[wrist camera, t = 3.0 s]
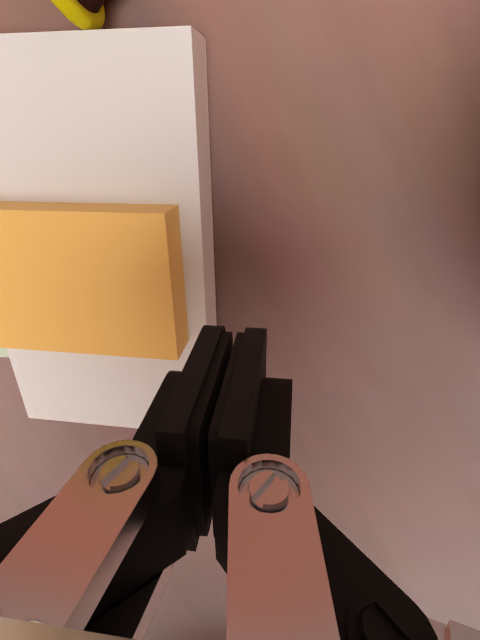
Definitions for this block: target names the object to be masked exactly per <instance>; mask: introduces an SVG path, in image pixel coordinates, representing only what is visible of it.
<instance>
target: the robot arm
mask: <svg viewBox="0 0 480 640" xmlns="http://www.w3.org/2000/svg"><path fill="white" fill-rule="evenodd" d="M266 344H267V329H264V328H247V327H246V329H245V332H244V333H241V332H238V333H237V336H236V339H235V342H234V346H233V337H232V332H225V327H224V326H213V325H203V327H202V329H201V331H200V333H199V335H198V338H197V340H196V342H195V344H194V346H193V348H192V350H191V353H190V355H189V357H188V359H187V361H186V363H185V366H184V368H183V370H182V371H172V370H171V371H169V372H168V373H167V374H166V376H165V378H164V380H163V382H162V384H161V386H160V388H159V389H158V391H157V393H156V395H155V397H154V399H153V401H152V403H151V405H150V407H149V409H148V411H147V413H146V415H145V416H144V418H143V420H142V422H141V424H140V426H139V428H138V430H137V432H136V434H135V436H134V438H133V440H122V441H115V442H113V443H110V444H107V445H104V446H103V447H101V448H99V449H98V450H96V451H94V452H93V453H92V454H91V455H90V456H89V457H88V458H87V459H86V460H85V461H84V463H83V464H82V465H81V466H80V467H79V469H78V470H77V471H76V472H75V474H74V475H73V476H72V477H71V478H70V480H69V481H68V482H67V483H66V485H65V486H64V487H63V488H62V489H61V491H60V492H59V493H58V494H57V495H56V496H54V497H52V498H50V499H48V500H46V501H44V502H42V503H40V504H38V505H36V506H34V507H32V508H30V509H29V510H27V511H25V512H23V513H21V514H19V515H17V516H15V517H13V518H11V519H9V520H7V521H5V522H3V523H1V524H0V640H143V639H144V636H145V634H146V632H147V629H148V627H149V625H150V622H151V620H152V618H153V615H154V613H155V611H156V609H157V606H158V604H159V602H160V599H161V597H162V595H163V592H164V590H165V588H166V585H167V583H168V581H169V578H170V575H171V572H172V568H173V563H174V562H176V561H177V560H179V559H180V558H181V557H183V556H184V555H186V551H187V550H189V551H196V548H197V544H198V540H199V536H206V537H207V536H208V533H209V529H210V524H211V520H212V518H213V533H214V538H215V548H216V559H217V561H218V562H219V563H220V565H221V566H222V568H223V569H224V571H225V572H226V574H227V615H226V640H480V631H478V630H476V629H473V628H471V627H468V626H465V625H463V624H460V623H457V622H455V621H452V620H449V622H448V624H447V625H445V624H443V623H440V622H437V621H435V620H432V619H430V618H427V617H426V615H425V614H424V613H423V612H422V611H421V610H420V608H419V607H418V606H417V605H416V604H415V603H414V602H413V601H412V600H411V599H410V598H409V597H408V596H407V595H406V594H405V593H404V592H403V591H402V590H401V589H400V588H399V587H398V586H397V585H396V584H395V583H394V582H393V581H392V580H391V579H389V578H388V577H387V576H386V575H385V574H384V573H383V572H382V571H381V570H380V569H379V568H378V567H377V566H376V565H375V564H374V563H373V562H372V561H371V560H370V559H369V558H368V557H367V556H366V555H365V554H363V553H362V552H361V551H360V550H359V549H358V548H357V547H356V546H355V545H354V544H353V543H352V542H351V541H350V540H349V539H348V538H347V537H346V536H345V535H344V534H343V533H342V532H341V531H340V530H338V529H337V528H336V527H335V526H334V525H333V524H332V523H331V522H330V521H329V520H328V519H327V518H326V517H325V516H324V515H323V514H322V513H321V512H320V511H319V510H318V509H317V508H316V507H315V506H314V505H313V500H312V495H311V490H310V485H309V482H308V479H307V477H306V474H305V473H304V472H303V470H302V469H301V468H300V467H299V465H297V464H296V463H294V462H293V461H291V460H290V432H291V405H292V379H278V378H266Z"/></svg>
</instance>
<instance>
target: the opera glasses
mask: <svg viewBox="0 0 480 640" xmlns="http://www.w3.org/2000/svg"><path fill="white" fill-rule="evenodd" d="M51 1H52V2H53V4H54V5H55V6H56V7H57V8H58V9H59V10H60V11H61V12H62V13H63V14H64V15H65V17H66V18H68V19H69V20H70V21H71V22H72V23H74V24H75V25H76V26H78V27H79V28H80V29H82V30H98V29H100V28H101V27H102V26H103V24H104V21H105V11H104V6H103V3H104V1H105V0H51Z"/></svg>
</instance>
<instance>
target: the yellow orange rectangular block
mask: <svg viewBox="0 0 480 640" xmlns="http://www.w3.org/2000/svg"><path fill="white" fill-rule="evenodd" d="M188 341H189V337H188V323H187V310H186V297H185V284H184V271H183V257H182V244H181V231H180V218H179V205H170V204H118V203H65V202H13V201H0V348H13V349H26V350H40V351H54V352H67V353H81V354H95V355H109V356H122V357H136V358H150V359H163V360H177V361H178V360H179V358H180V356H181V354H182V352H183V350H184V348H185V347H186V345H187V343H188Z"/></svg>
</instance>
